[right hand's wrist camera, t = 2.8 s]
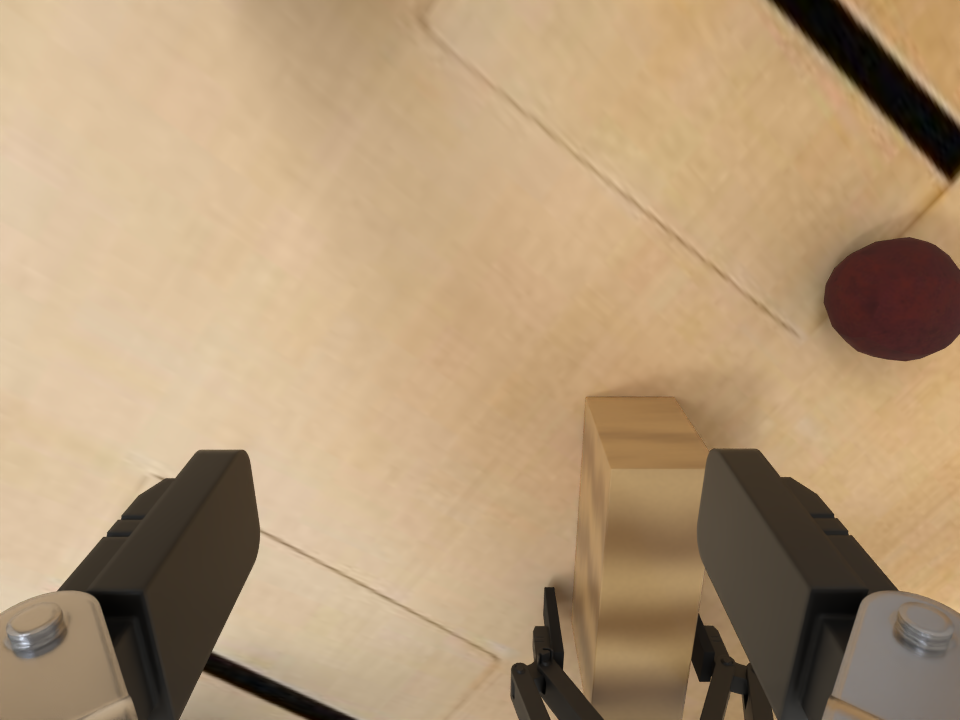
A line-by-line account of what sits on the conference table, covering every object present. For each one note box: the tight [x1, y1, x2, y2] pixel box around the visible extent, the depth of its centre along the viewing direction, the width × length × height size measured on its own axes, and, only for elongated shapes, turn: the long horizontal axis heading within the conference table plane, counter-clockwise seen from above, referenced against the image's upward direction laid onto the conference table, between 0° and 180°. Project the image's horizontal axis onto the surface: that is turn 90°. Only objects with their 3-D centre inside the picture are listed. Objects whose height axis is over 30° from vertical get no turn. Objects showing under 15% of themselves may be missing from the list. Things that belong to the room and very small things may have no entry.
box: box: [571, 397, 709, 720], centre depth 46 cm, size 20×6×10 cm, turn 0°
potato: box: [824, 237, 960, 361], centre depth 40 cm, size 7×8×7 cm
